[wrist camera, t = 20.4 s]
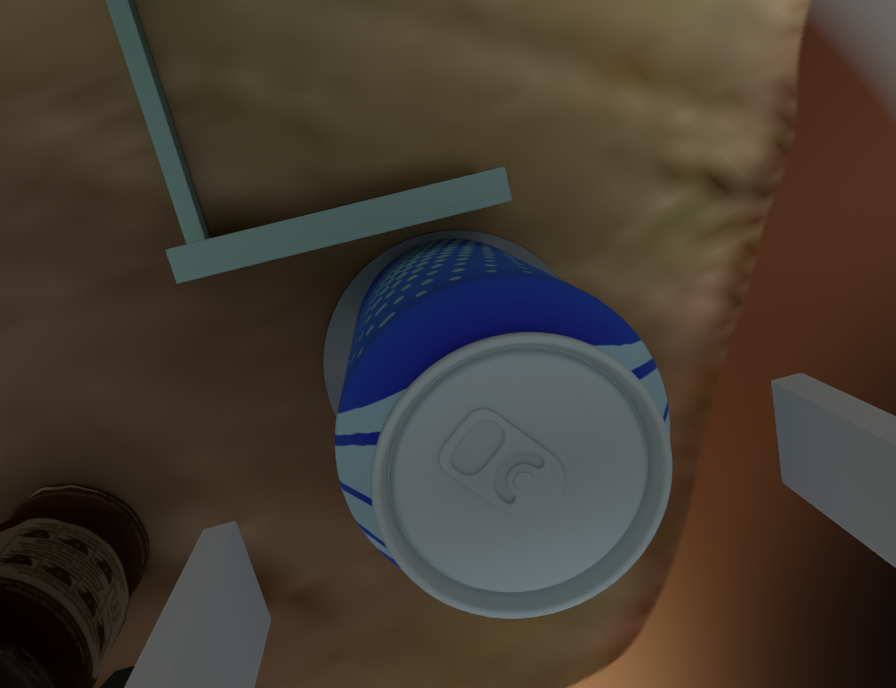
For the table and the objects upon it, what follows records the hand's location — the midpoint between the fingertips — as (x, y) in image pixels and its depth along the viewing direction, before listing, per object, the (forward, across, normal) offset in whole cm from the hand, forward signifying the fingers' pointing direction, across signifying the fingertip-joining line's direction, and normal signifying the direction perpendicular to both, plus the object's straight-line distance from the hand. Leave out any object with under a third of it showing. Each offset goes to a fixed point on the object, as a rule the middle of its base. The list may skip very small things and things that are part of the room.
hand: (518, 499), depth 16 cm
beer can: (+15, 0, +1) cm, 15 cm away
